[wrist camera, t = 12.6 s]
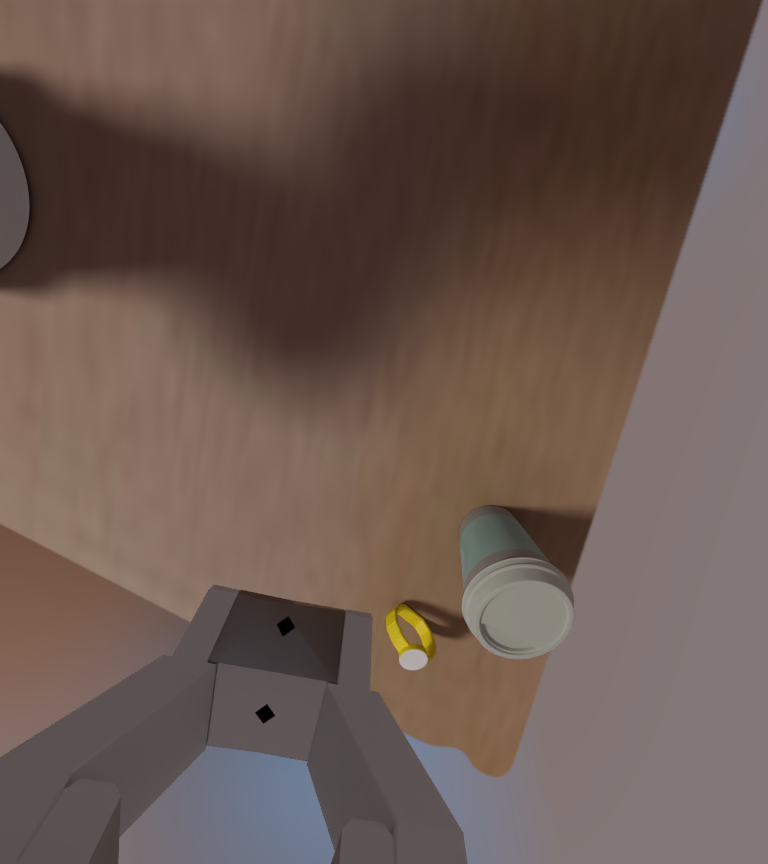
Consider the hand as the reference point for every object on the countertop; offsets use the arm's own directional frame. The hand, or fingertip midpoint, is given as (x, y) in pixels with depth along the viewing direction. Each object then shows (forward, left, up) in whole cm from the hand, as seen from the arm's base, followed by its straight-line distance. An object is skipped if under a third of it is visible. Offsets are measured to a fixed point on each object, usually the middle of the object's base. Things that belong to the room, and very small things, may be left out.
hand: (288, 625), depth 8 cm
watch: (+11, -27, -31) cm, 43 cm away
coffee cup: (+16, -15, -31) cm, 38 cm away
